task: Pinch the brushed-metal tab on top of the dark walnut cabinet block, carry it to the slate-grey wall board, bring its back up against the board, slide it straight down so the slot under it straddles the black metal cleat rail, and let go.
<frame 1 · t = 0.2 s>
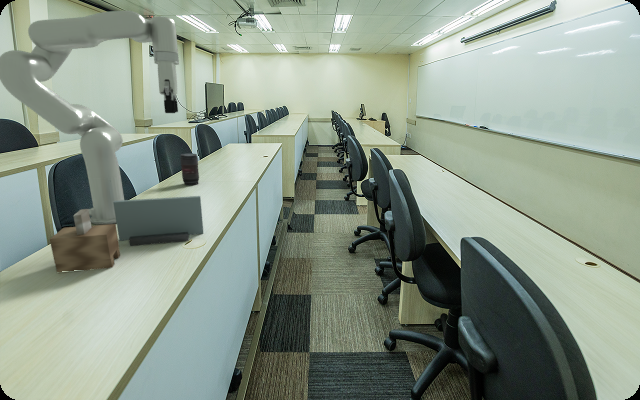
hand: (171, 112, 120), 37 cm above the table, tool pointing down, fingers open, 9 cm apart
walnut cabinet: (90, 263, 91), on the table
cleat rail: (160, 242, 105), on the table
wall board: (162, 236, 109), on the table
camera lens: (191, 184, 178), on the table
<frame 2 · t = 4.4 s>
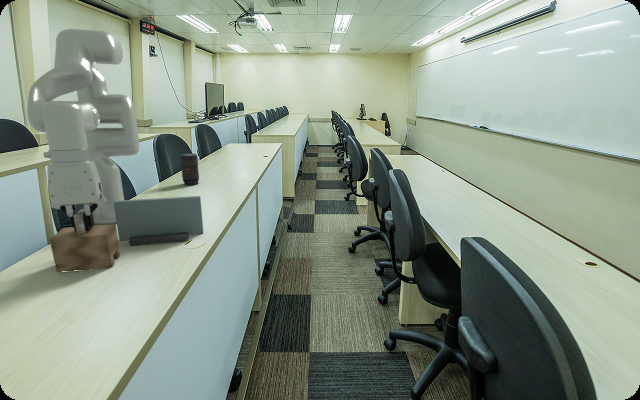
hand: (84, 229, 88), 9 cm above the table, tool pointing down, fingers closed on walnut cabinet
walnut cabinet: (90, 263, 91), on the table, touching gripper
everything else where it was.
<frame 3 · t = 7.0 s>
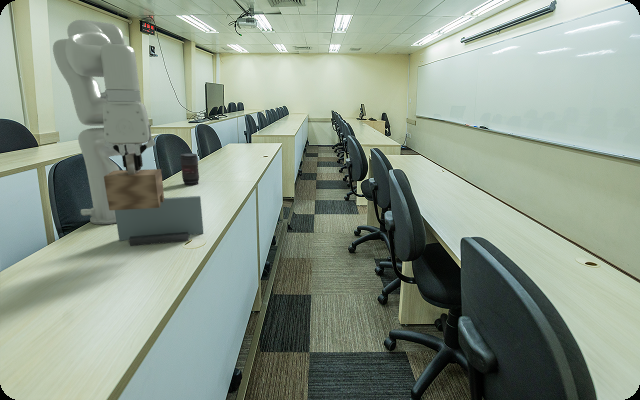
hand: (133, 169, 94), 23 cm above the table, tool pointing down, fingers closed on walnut cabinet
walnut cabinet: (138, 205, 96), point 13 cm above the table, touching gripper
everything else where it was.
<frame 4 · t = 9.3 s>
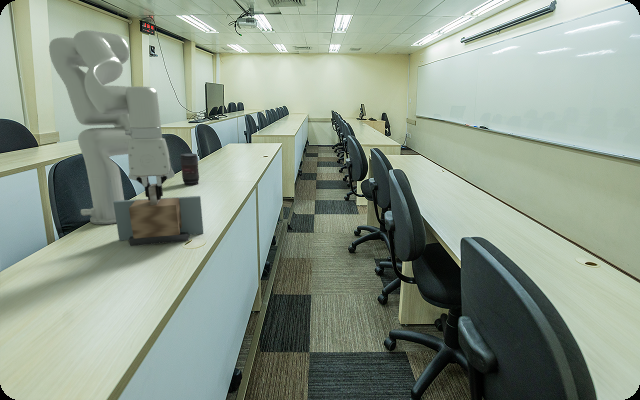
hand: (154, 198, 101), 13 cm above the table, tool pointing down, fingers closed on walnut cabinet
walnut cabinet: (158, 231, 104), point 3 cm above the table, touching gripper
everything else where it was.
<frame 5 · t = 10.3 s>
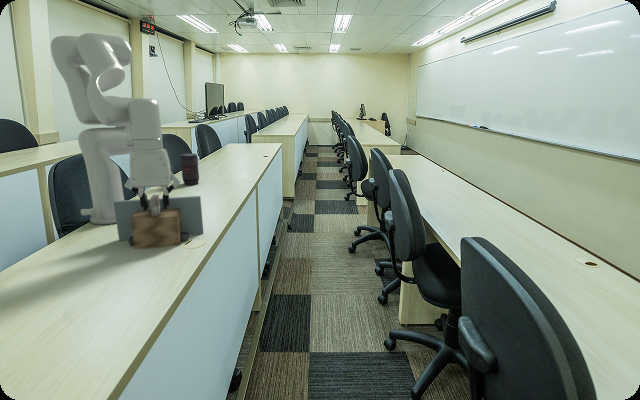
hand: (155, 207, 102), 11 cm above the table, tool pointing down, fingers open, 4 cm apart
walnut cabinet: (159, 242, 105), on the table
everything else where it was.
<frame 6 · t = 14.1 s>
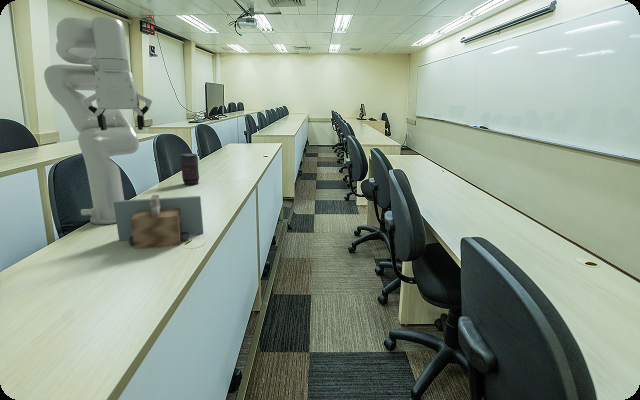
hand: (122, 129, 102), 32 cm above the table, tool pointing down, fingers open, 9 cm apart
nothing on the table moved.
at the end: walnut cabinet inside the target area on the cleat rail (0.1 cm from its centre), point 0.0 cm above the cleat rail's base; walnut cabinet tilted 0°; the gripper is holding nothing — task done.
